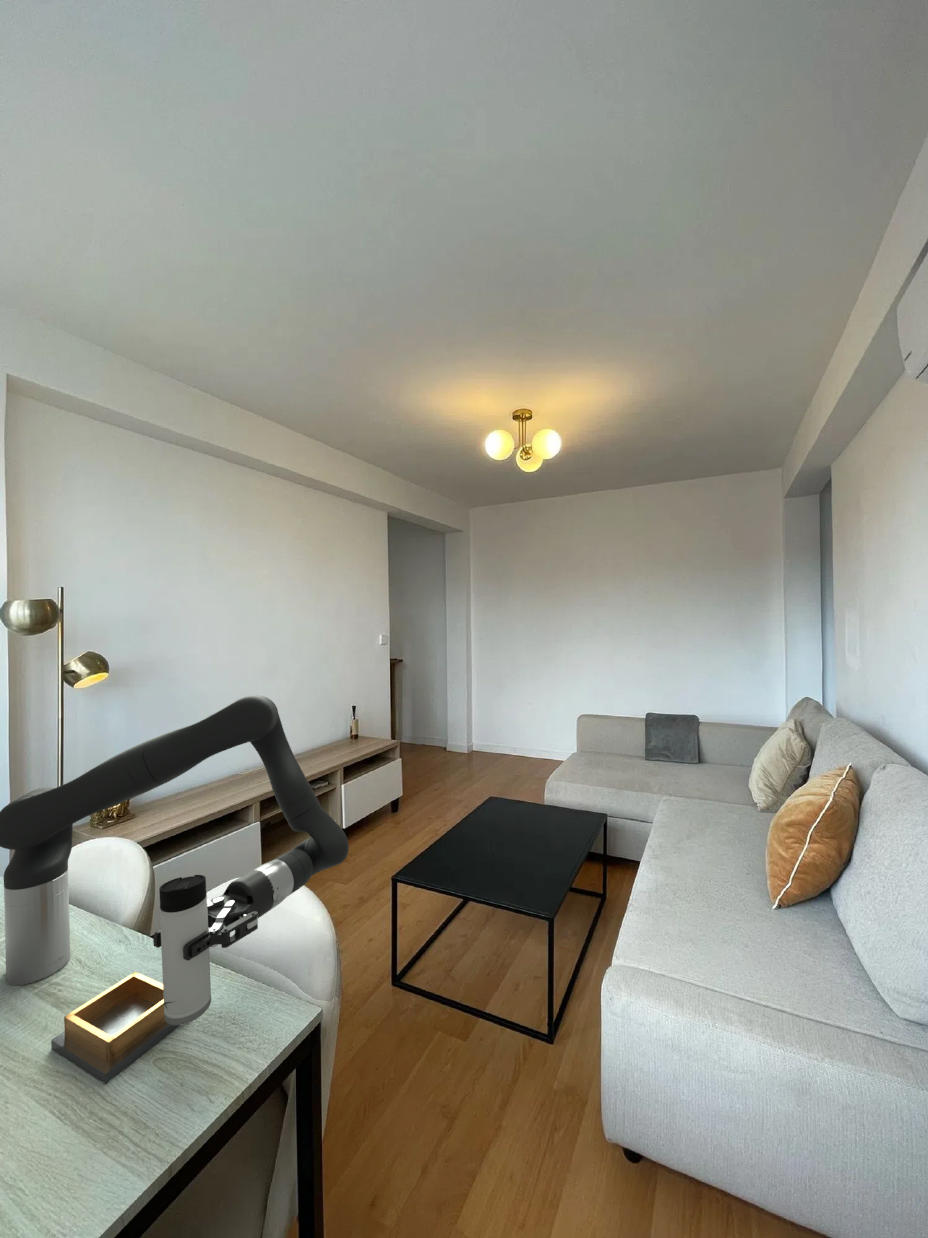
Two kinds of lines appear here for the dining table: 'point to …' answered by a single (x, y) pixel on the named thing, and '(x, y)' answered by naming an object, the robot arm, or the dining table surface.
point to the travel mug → (179, 926)
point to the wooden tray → (114, 1027)
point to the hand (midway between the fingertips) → (169, 947)
